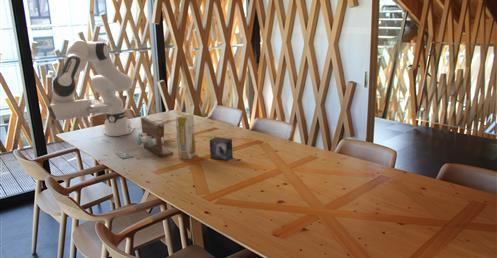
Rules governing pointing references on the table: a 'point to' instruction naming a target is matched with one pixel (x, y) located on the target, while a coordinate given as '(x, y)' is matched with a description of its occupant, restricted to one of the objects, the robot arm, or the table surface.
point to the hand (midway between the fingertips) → (111, 104)
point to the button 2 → (154, 141)
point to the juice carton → (185, 136)
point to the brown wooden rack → (154, 132)
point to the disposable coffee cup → (161, 126)
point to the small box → (221, 148)
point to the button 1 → (142, 134)
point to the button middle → (143, 139)
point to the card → (124, 154)
